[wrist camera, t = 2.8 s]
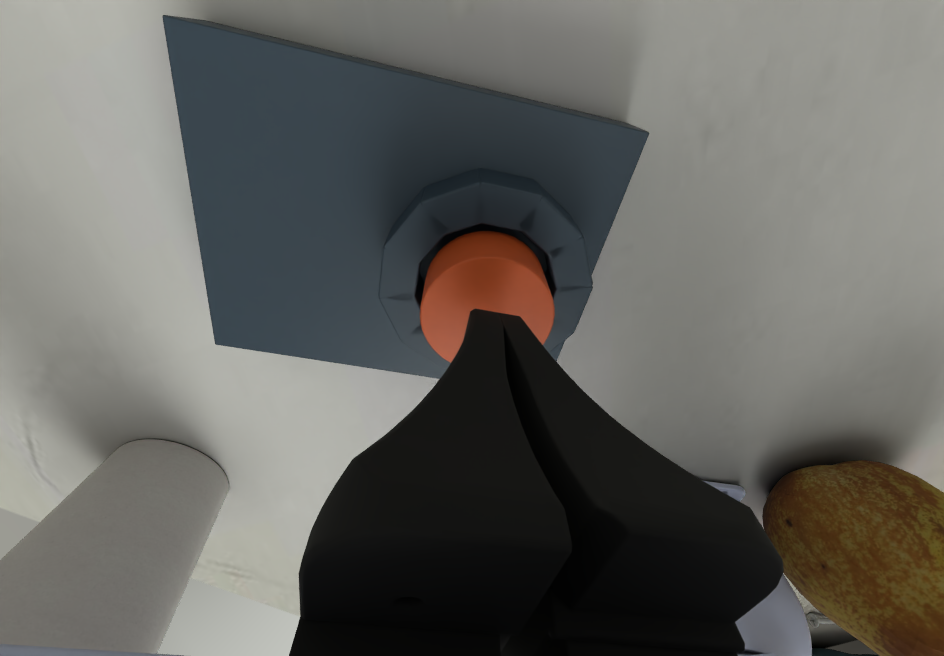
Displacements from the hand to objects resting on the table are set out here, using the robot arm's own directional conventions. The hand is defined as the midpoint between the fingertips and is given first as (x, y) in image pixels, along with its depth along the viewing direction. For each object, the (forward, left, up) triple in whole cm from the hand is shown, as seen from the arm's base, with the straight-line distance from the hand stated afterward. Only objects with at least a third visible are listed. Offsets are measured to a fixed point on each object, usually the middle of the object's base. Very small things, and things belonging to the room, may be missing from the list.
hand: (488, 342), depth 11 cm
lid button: (0, 0, -3) cm, 3 cm away
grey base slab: (+3, 0, -7) cm, 8 cm away
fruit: (-24, +11, -7) cm, 27 cm away
